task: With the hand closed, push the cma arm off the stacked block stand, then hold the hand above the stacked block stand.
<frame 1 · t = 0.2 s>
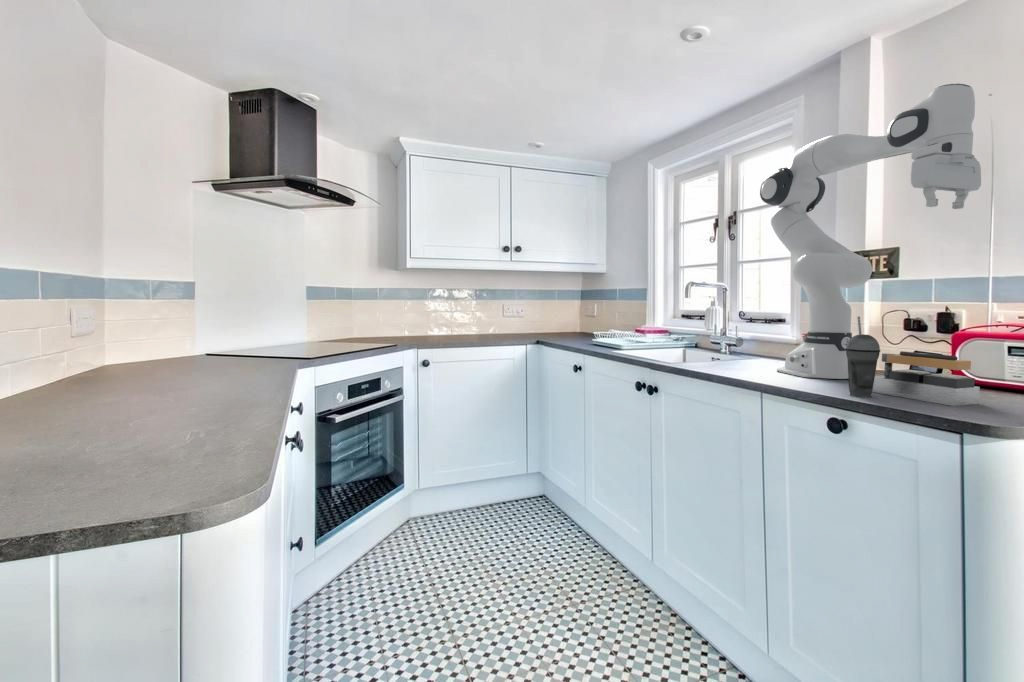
hand: (945, 207, 126), 47 cm above the countertop, fingers open, 8 cm apart
beverage cup: (860, 396, 126), on the countertop
stacked block stand: (919, 397, 123), on the countertop
cma arm: (920, 359, 123), point 10 cm above the countertop, hinge at 0.0°
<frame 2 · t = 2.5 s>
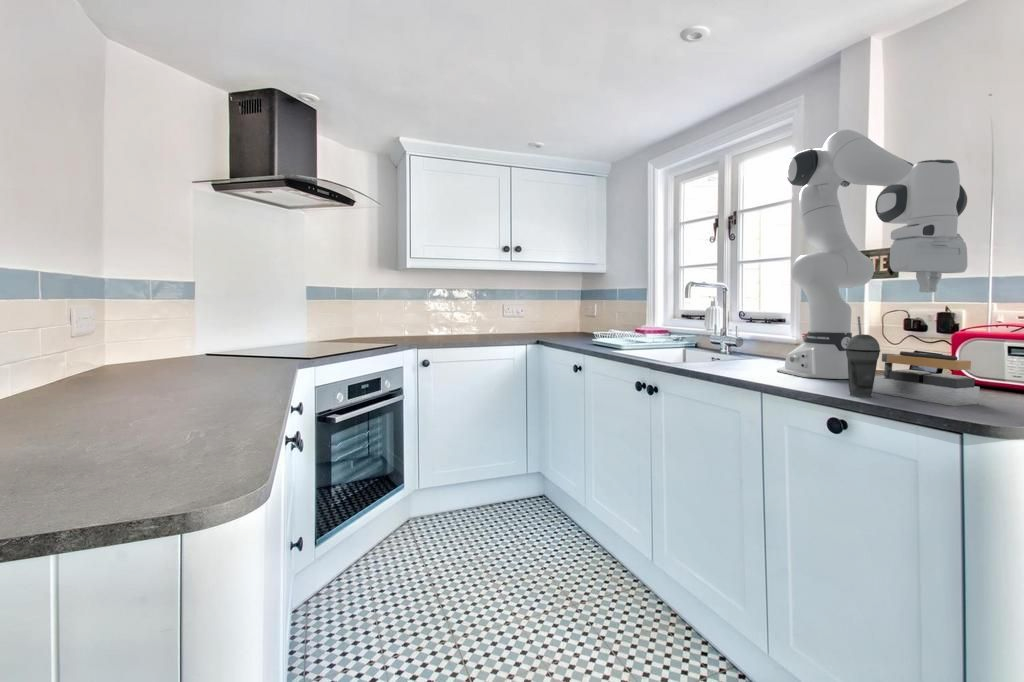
hand: (927, 292, 115), 26 cm above the countertop, fingers closed
nothing on the countertop moved.
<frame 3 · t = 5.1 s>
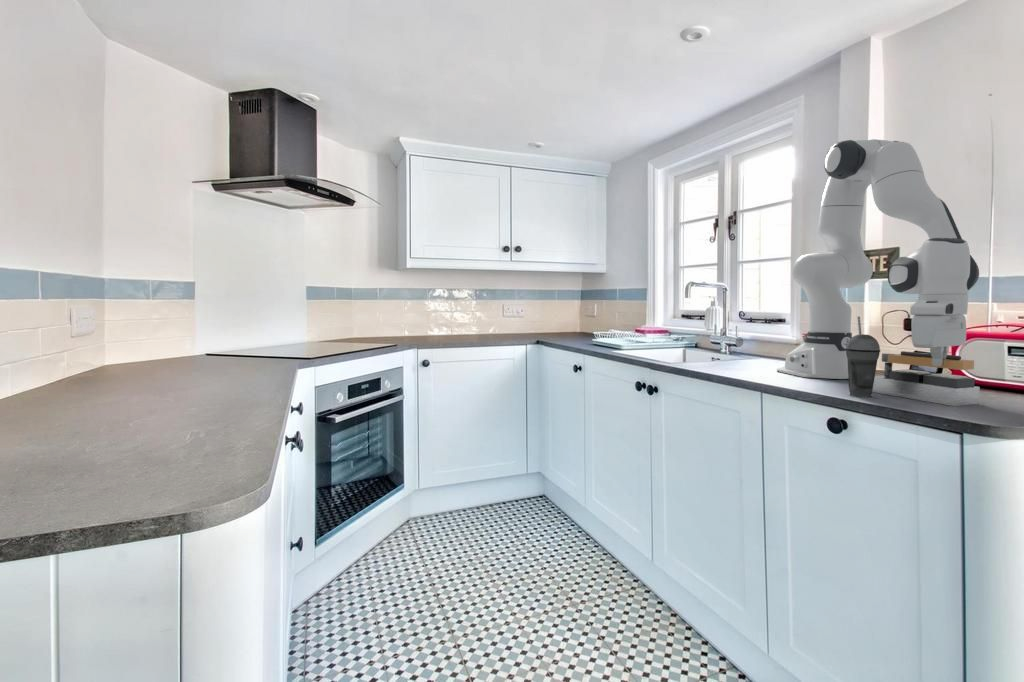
hand: (938, 365, 117), 9 cm above the countertop, fingers closed
cma arm: (922, 359, 123), point 10 cm above the countertop, hinge at 5.1°, touching gripper
everything else where it was.
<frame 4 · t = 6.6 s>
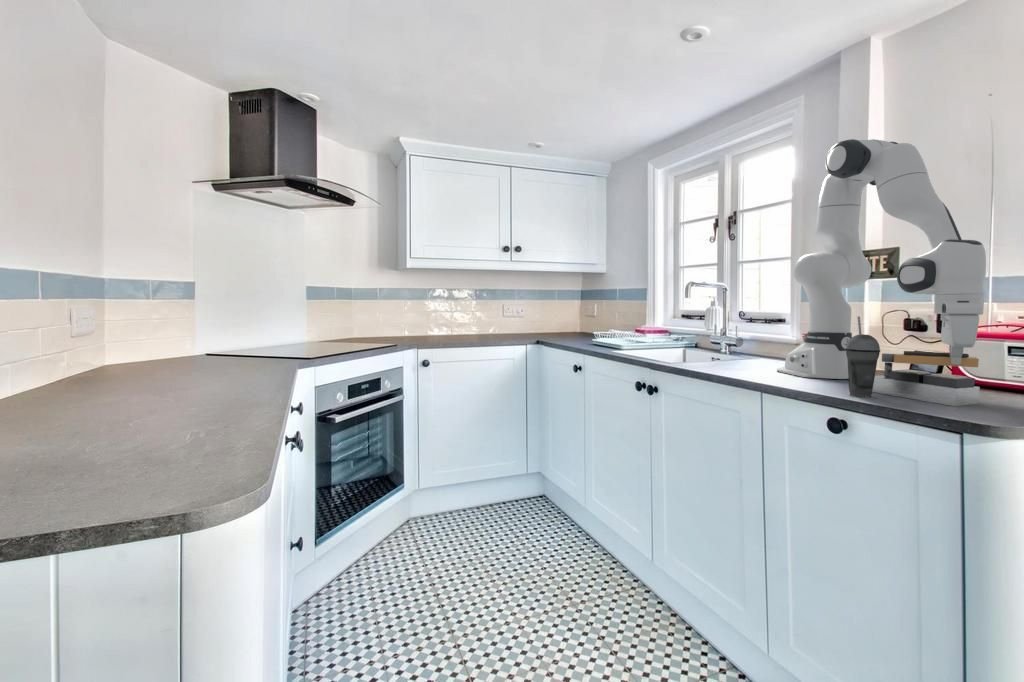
hand: (955, 364, 120), 9 cm above the countertop, fingers closed
cma arm: (927, 357, 126), point 10 cm above the countertop, hinge at 36.9°, touching gripper
everything else where it was.
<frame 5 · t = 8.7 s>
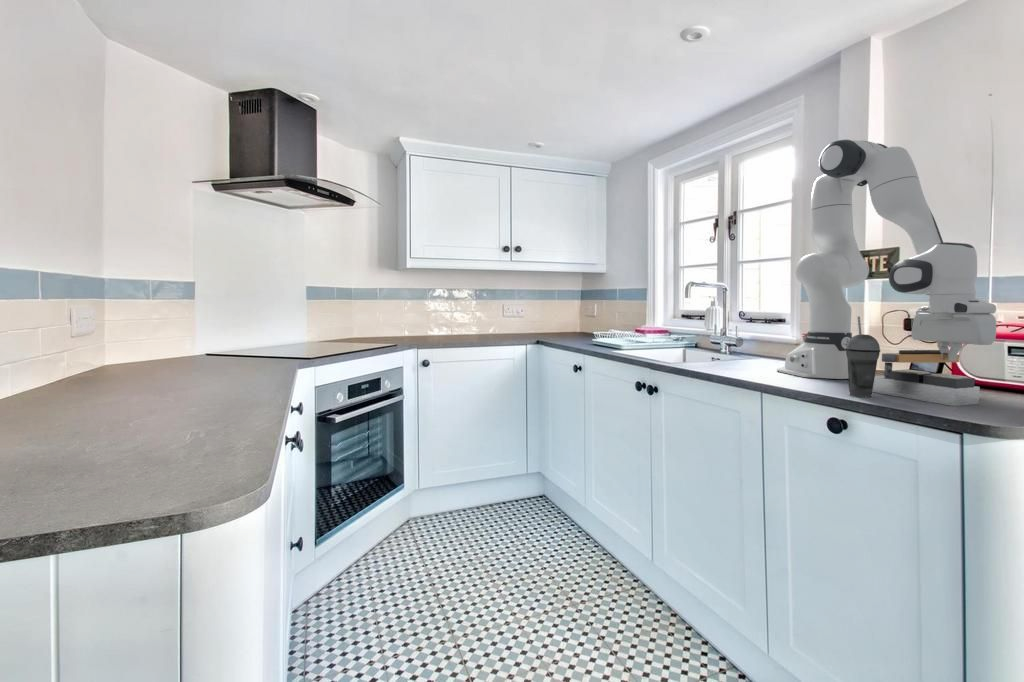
hand: (948, 360, 127), 9 cm above the countertop, fingers closed
cma arm: (917, 355, 131), point 10 cm above the countertop, hinge at 75.1°, touching gripper
everything else where it was.
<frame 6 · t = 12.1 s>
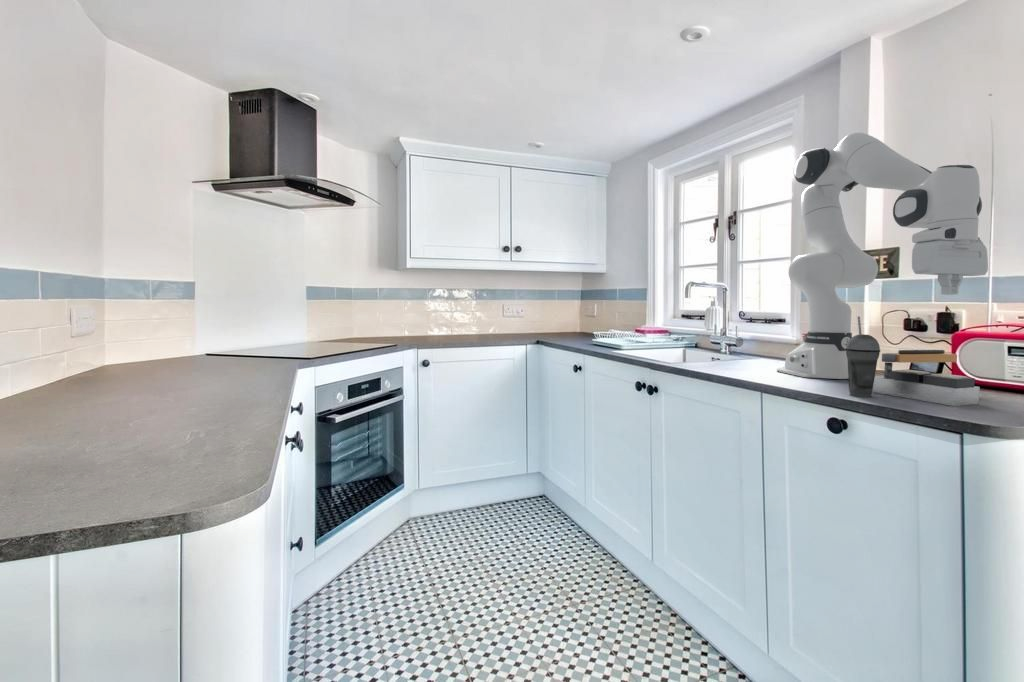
hand: (949, 294, 117), 25 cm above the countertop, fingers closed
cma arm: (916, 355, 131), point 10 cm above the countertop, hinge at 77.4°
everything else where it was.
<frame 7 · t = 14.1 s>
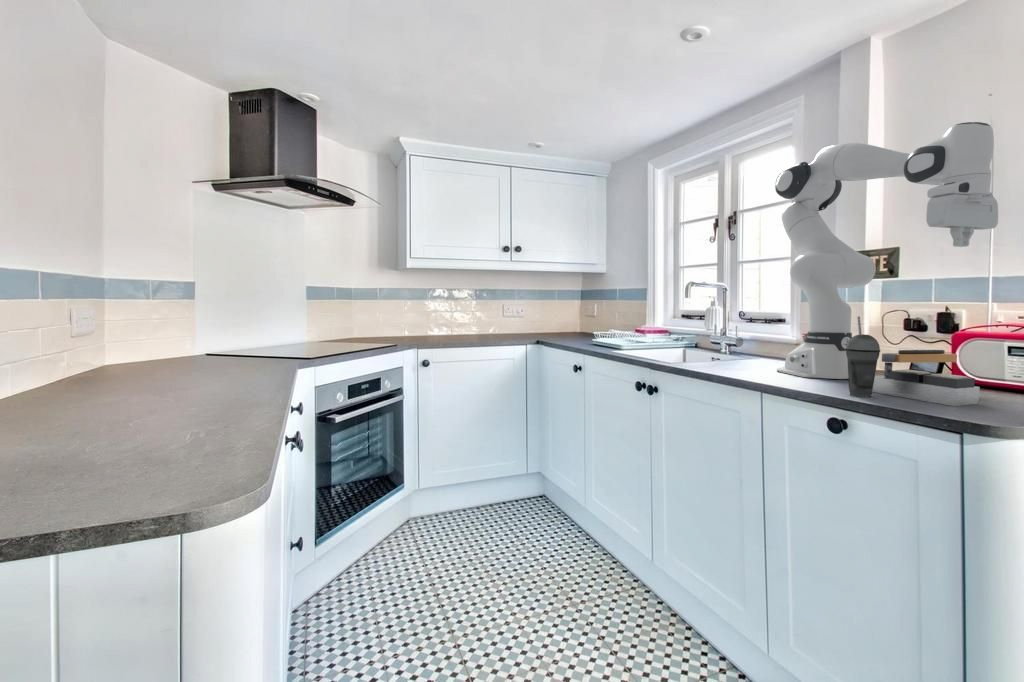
hand: (960, 246, 124), 37 cm above the countertop, fingers closed
nothing on the countertop moved.
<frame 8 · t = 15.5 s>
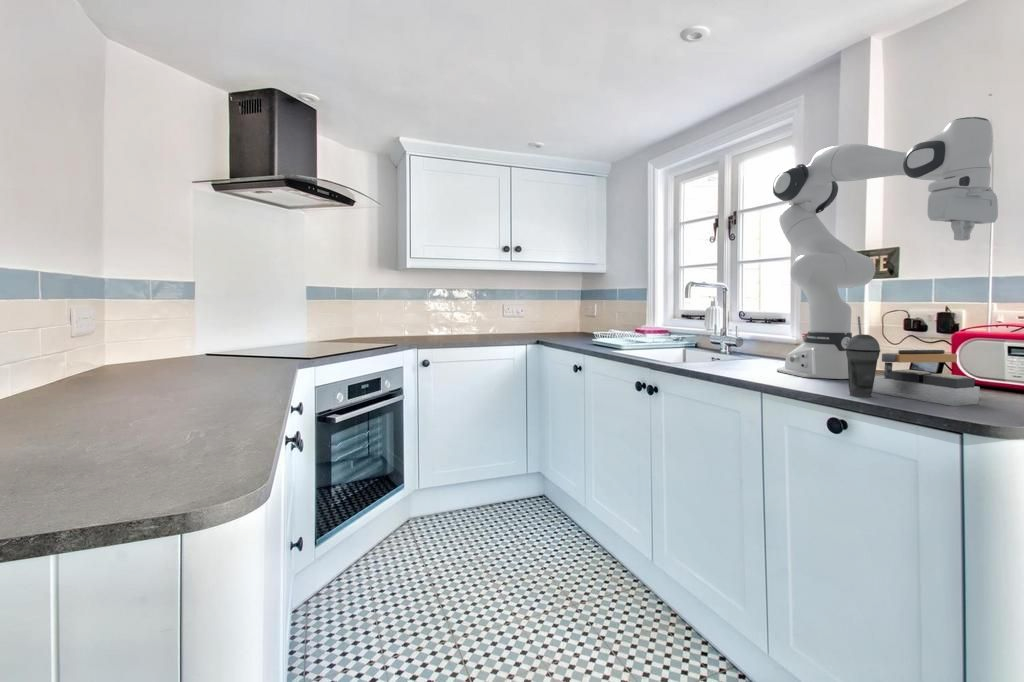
hand: (961, 240, 125), 39 cm above the countertop, fingers closed
nothing on the countertop moved.
at the end: cma arm at +77° (first picture: +0°); beverage cup moved 0.2 cm from its start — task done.
